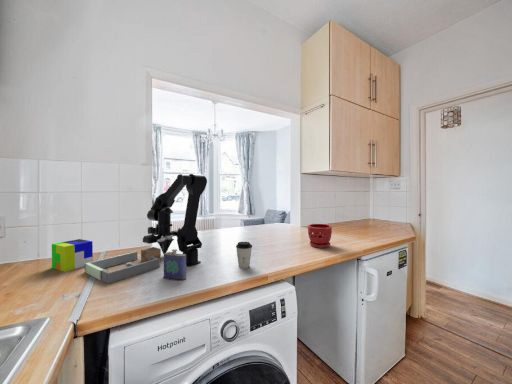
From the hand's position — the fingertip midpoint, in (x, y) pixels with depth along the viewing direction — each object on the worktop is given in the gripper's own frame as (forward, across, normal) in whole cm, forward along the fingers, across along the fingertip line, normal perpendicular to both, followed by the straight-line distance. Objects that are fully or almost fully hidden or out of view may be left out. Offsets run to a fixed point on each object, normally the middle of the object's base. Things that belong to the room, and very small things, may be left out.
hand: (164, 253), depth 107 cm
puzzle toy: (+1, +30, -20) cm, 36 cm away
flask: (+1, +14, +27) cm, 30 cm away
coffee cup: (+1, -10, +41) cm, 42 cm away
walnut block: (+1, +7, 0) cm, 7 cm away
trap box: (+1, +20, +2) cm, 20 cm away
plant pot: (+1, -61, +57) cm, 84 cm away
